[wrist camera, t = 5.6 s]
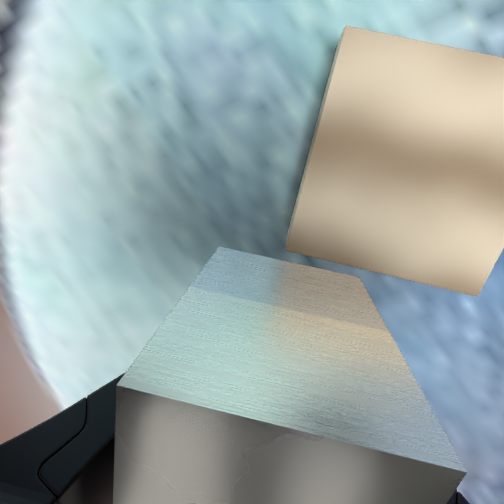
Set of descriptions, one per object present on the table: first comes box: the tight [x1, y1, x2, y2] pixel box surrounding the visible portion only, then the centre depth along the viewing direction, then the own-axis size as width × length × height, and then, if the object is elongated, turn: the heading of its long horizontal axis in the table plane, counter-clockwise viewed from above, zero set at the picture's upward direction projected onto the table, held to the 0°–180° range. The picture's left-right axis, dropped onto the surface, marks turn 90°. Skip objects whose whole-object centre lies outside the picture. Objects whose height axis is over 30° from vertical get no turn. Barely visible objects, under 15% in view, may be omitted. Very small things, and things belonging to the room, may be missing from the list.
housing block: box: [113, 247, 467, 504], centre depth 8 cm, size 6×5×6 cm
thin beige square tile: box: [286, 26, 504, 296], centre depth 16 cm, size 11×11×2 cm
